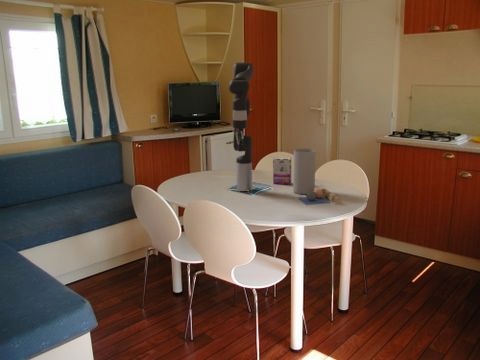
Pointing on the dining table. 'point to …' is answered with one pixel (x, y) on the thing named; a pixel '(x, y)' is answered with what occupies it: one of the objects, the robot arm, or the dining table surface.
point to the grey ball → (311, 196)
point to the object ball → (318, 193)
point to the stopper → (330, 196)
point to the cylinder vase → (304, 171)
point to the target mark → (316, 201)
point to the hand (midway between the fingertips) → (240, 151)
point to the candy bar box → (282, 171)
